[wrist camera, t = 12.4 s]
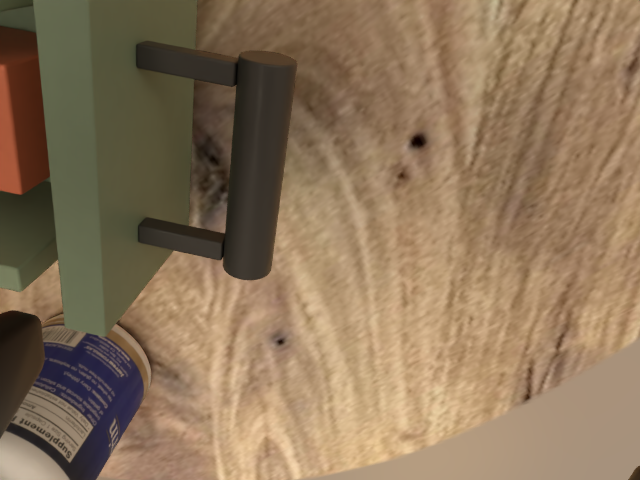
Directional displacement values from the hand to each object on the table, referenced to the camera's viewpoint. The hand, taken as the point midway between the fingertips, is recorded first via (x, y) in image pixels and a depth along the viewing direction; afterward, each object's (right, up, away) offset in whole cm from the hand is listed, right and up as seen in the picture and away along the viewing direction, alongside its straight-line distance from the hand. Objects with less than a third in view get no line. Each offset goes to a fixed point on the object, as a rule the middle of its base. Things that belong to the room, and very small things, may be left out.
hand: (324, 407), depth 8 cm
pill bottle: (-10, -3, +18) cm, 21 cm away
